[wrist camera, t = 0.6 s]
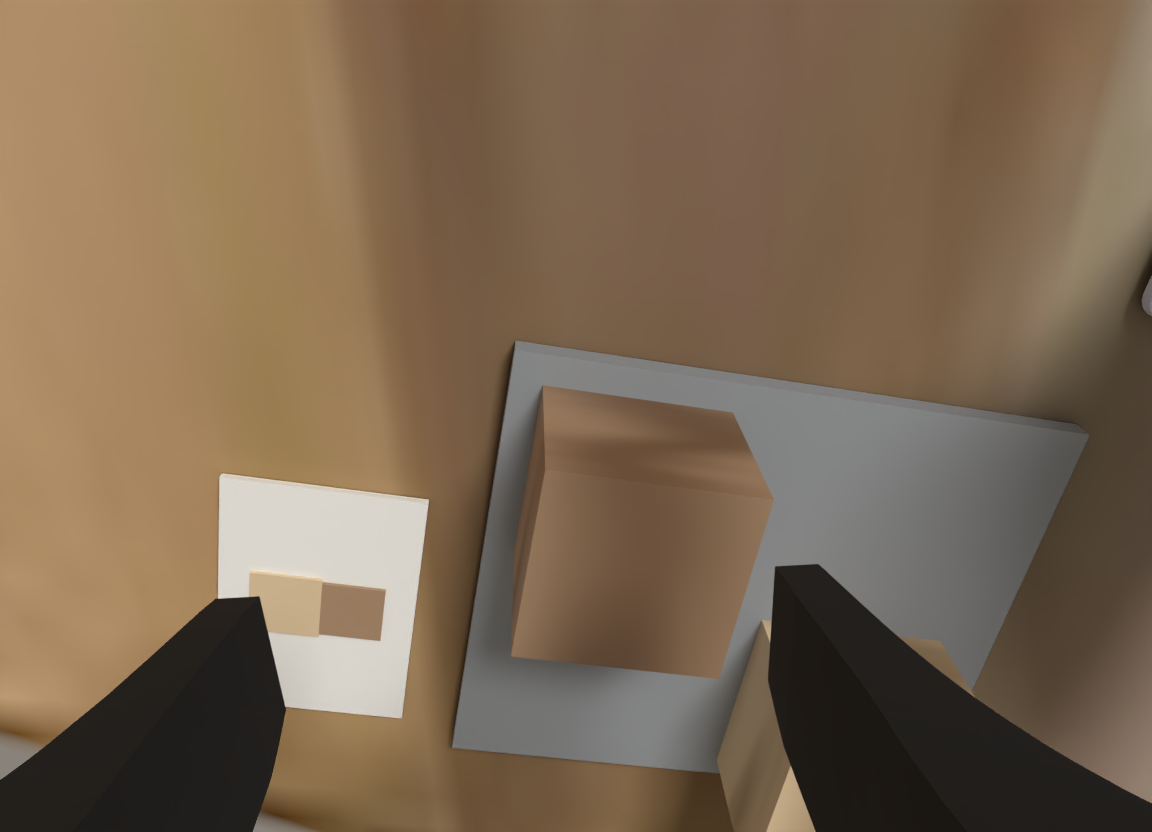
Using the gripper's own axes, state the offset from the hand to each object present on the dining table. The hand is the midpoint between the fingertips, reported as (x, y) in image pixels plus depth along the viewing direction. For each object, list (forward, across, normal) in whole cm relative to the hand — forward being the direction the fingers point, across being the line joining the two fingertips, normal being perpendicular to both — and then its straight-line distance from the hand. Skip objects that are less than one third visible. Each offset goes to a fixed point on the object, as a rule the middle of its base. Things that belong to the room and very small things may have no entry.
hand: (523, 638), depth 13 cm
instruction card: (+9, +6, +6) cm, 13 cm away
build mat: (+10, -5, +6) cm, 13 cm away
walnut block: (+9, -2, +3) cm, 10 cm away
